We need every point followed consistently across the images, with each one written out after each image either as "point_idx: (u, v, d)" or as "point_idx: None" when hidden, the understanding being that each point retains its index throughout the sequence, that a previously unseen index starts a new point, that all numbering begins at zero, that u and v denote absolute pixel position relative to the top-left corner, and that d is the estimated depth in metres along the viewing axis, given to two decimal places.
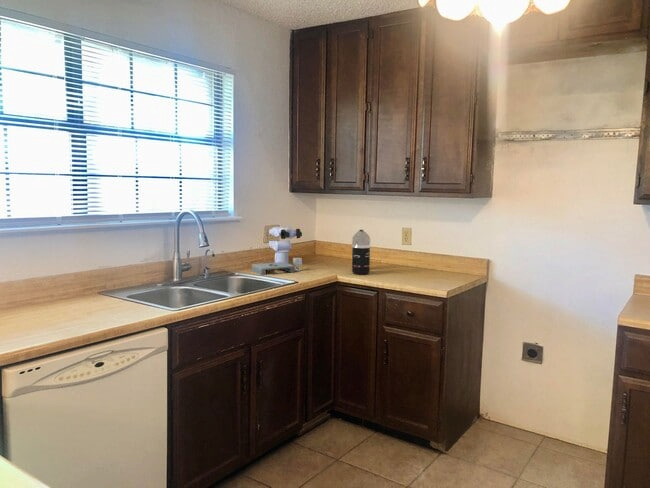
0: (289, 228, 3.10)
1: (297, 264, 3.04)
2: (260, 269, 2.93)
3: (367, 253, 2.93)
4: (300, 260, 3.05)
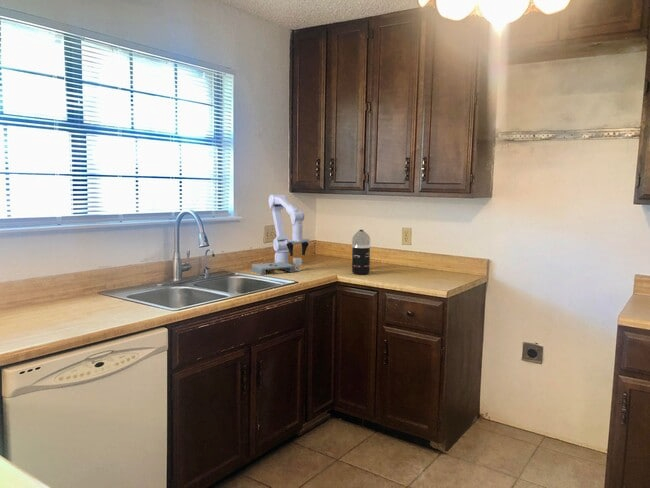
0: None
1: (297, 264, 3.04)
2: (260, 269, 2.93)
3: (367, 253, 2.93)
4: (300, 260, 3.05)
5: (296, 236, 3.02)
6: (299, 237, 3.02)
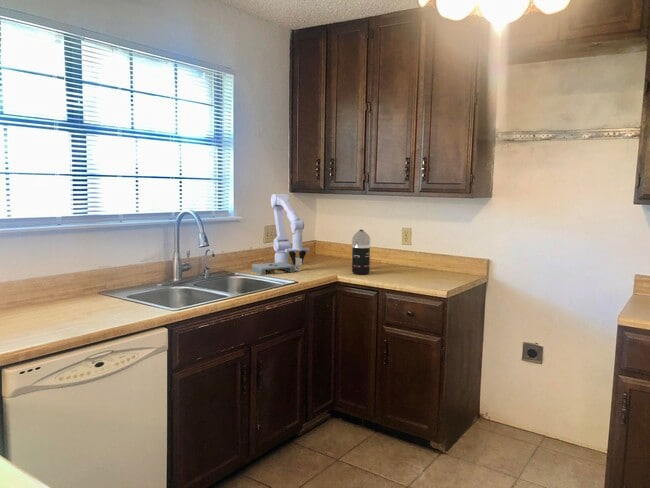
0: None
1: (297, 264, 3.04)
2: (260, 269, 2.93)
3: (367, 253, 2.93)
4: (300, 260, 3.05)
5: (296, 245, 3.02)
6: (299, 246, 3.03)
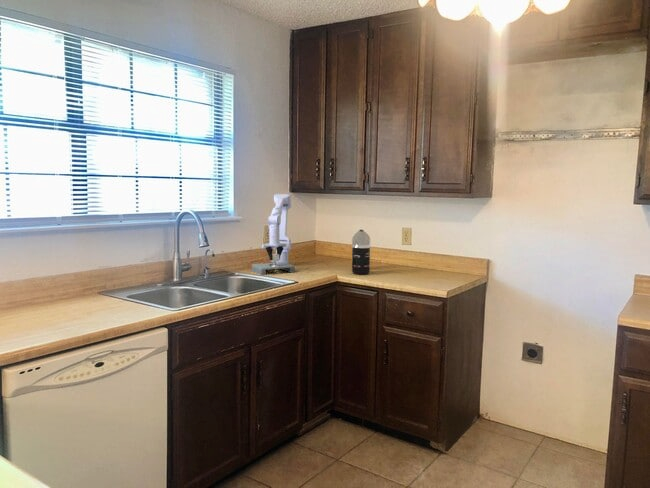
0: (276, 245, 2.97)
1: (274, 260, 2.98)
2: (260, 269, 2.93)
3: (367, 253, 2.93)
4: (277, 256, 2.99)
5: (273, 240, 2.96)
6: (276, 241, 2.97)
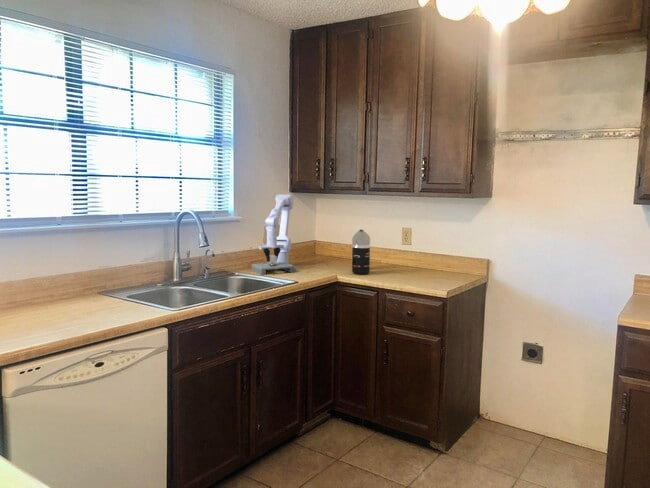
0: (273, 247, 3.01)
1: (271, 261, 3.02)
2: (260, 269, 2.93)
3: (367, 253, 2.93)
4: (274, 257, 3.03)
5: (270, 242, 3.00)
6: (273, 243, 3.01)
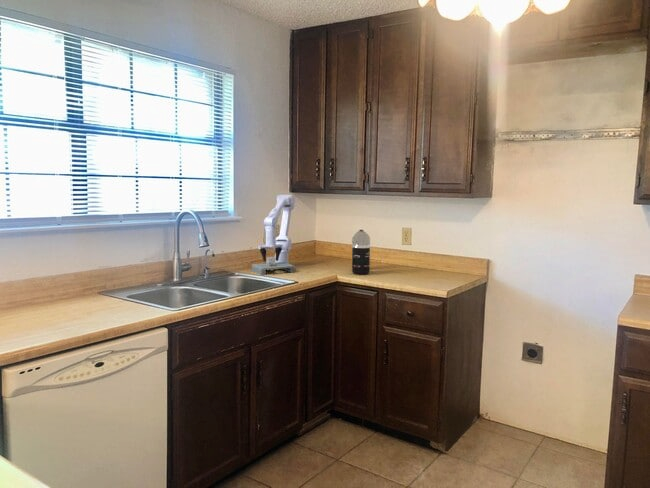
0: (272, 246, 3.02)
1: (270, 263, 3.04)
2: (260, 269, 2.93)
3: (367, 253, 2.93)
4: (273, 259, 3.04)
5: (269, 241, 3.02)
6: (272, 242, 3.02)
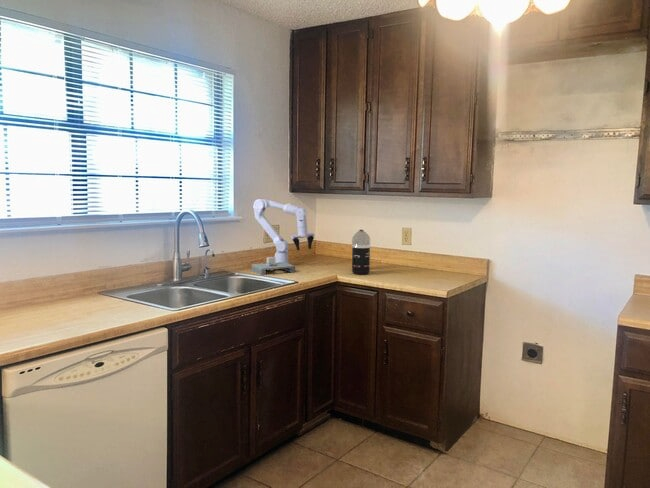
0: (305, 235, 3.16)
1: (270, 263, 3.04)
2: (260, 269, 2.93)
3: (367, 253, 2.93)
4: (273, 259, 3.04)
5: (301, 231, 3.15)
6: (304, 232, 3.16)
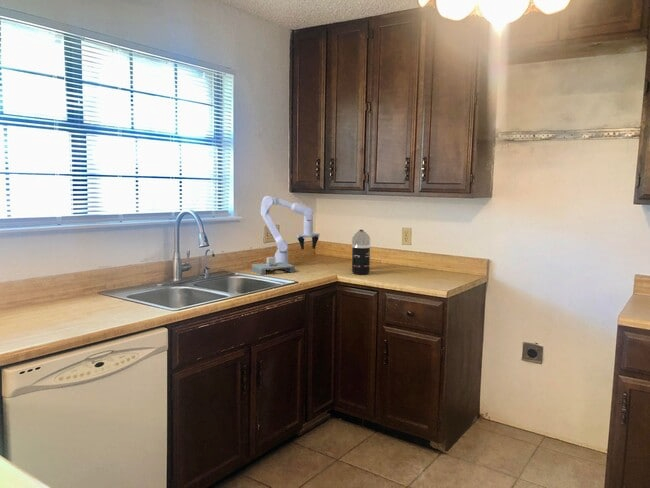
0: (310, 235, 3.19)
1: (270, 263, 3.04)
2: (260, 269, 2.93)
3: (367, 253, 2.93)
4: (273, 259, 3.04)
5: (307, 231, 3.19)
6: (310, 231, 3.19)
